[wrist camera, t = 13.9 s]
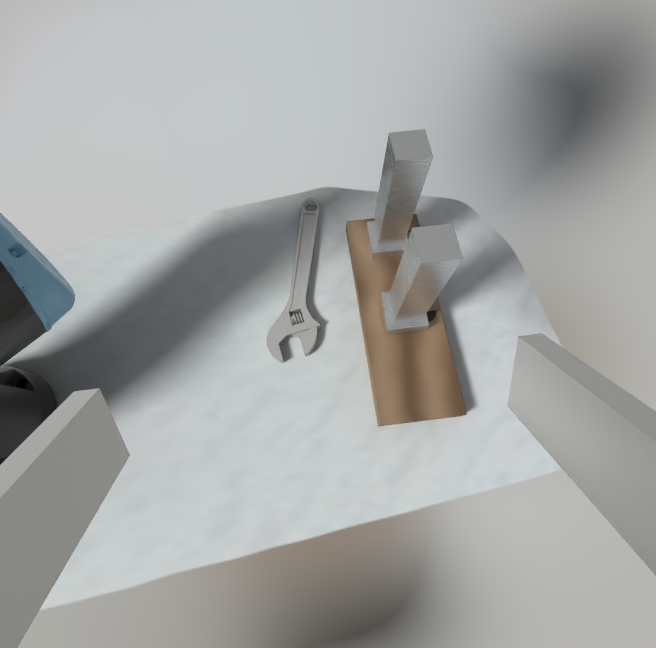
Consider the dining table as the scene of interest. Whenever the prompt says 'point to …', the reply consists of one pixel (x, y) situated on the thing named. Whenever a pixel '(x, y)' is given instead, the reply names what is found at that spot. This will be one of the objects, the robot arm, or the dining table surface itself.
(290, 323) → the adjustable wrench
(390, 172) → the fixed leg
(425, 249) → the block
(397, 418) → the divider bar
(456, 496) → the dining table surface
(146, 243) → the dining table surface
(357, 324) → the dining table surface
